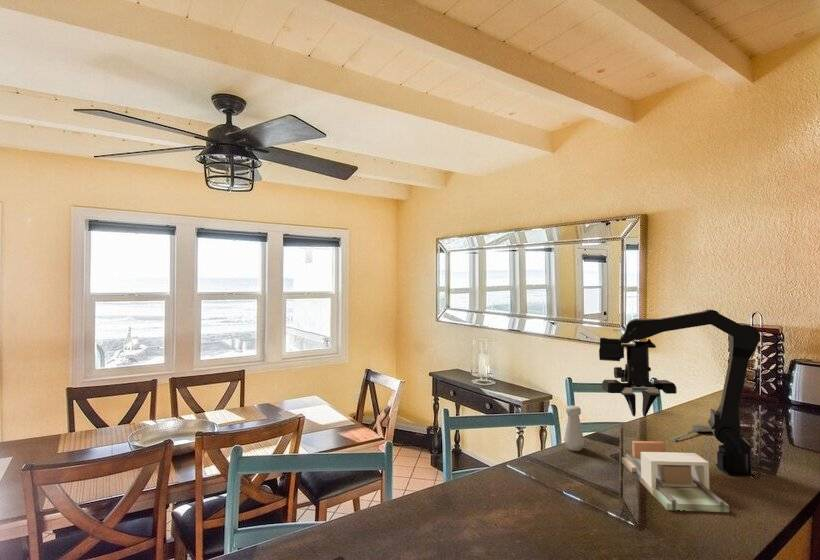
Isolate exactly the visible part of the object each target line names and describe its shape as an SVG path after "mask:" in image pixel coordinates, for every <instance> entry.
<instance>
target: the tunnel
mask: <svg viewBox="0 0 820 560" xmlns="http://www.w3.org/2000/svg"><path fill="white" fill-rule="evenodd" d="M656 465H689V466H690V467H691V476H692V477H694V478H695V479H696V480H697V481H699V482H700V483H701V484H702V485H704V486H705V487H706V488H707V489H709V490H710V463H709V461H708V460H706V459H705V458H703V457H702V456H700V455H699V454H697V453H696V452H677V451H676V452H673V451H672V452H668V451H665V452H641V477H642V478H643V479H644V480H645V482H646V483H647V484H648V485H649V486H650V487H651V488H656Z"/></svg>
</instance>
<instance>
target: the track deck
mask: <svg viewBox="0 0 820 560" xmlns="http://www.w3.org/2000/svg"><path fill="white" fill-rule="evenodd" d="M621 463H622V465H624V466H625V468H627V470H628V471H629V472H630V473H631V474H632V475H633V476H634V477H635V478H636V479H637V480H638V482H640V484H642V485H643V487H644V488H645V489H646V490H647V491H648V492H649V493H650V494H651V495H652V496H653V497H654V499H656V500H657V501H658V502H659V504H660V505H661V506H663V508H664V509H665V510H666V511H677V510H680V511H681V512H685V511H686V512H709V513H710V512H712V513H730V505H729V503H727V502H726V501H725V500H723V499H722V498H720V497H719V496H718V495H717V494H715V493H714V492H713V491H712V490H711V489H710V488H709V489H707V488H706V487H705V486H704V485H702V484H701V483H700V482H699V481H697V480H696V479H695V478H694V477H692V476H691V480H692V481H693V482H694V483H695V484H696V485H697V488H696V487H662V486H661V485H660V484H659V483H658V482H657V481H656V488H651V487H650V486H649V485H648V484H647V483H646V482H645V480H644V479H643V478H642V477H641V466H640V465H639V464H638V463H637V462H636V461H635V460H634V459H633V458H632V455H630V454H625V456H624V457H623V456H622V457H621ZM683 510H685V511H683Z"/></svg>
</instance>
